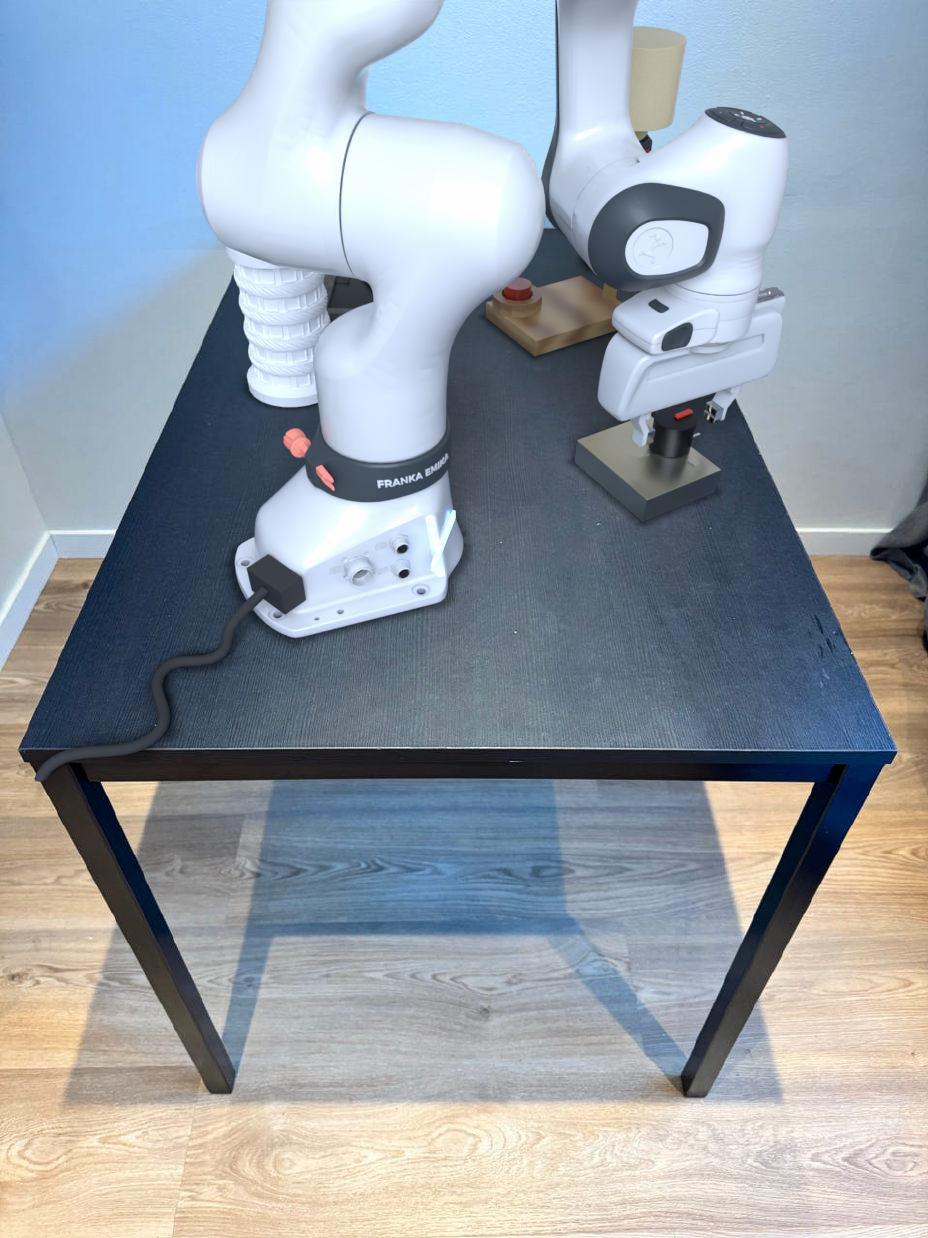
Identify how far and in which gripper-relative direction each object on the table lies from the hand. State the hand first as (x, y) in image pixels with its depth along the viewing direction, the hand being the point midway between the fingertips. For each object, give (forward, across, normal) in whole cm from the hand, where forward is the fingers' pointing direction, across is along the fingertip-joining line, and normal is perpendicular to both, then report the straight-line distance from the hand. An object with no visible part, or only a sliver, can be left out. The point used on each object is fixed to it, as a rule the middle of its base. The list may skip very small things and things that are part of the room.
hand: (678, 430), depth 92 cm
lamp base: (+5, -8, -35) cm, 36 cm away
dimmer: (+6, +1, -1) cm, 6 cm away
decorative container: (+6, +29, -37) cm, 47 cm away
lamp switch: (+2, -3, -37) cm, 37 cm away
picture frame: (+5, +10, -54) cm, 55 cm away
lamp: (+1, -13, -31) cm, 34 cm away
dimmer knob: (+3, 0, -1) cm, 3 cm away
